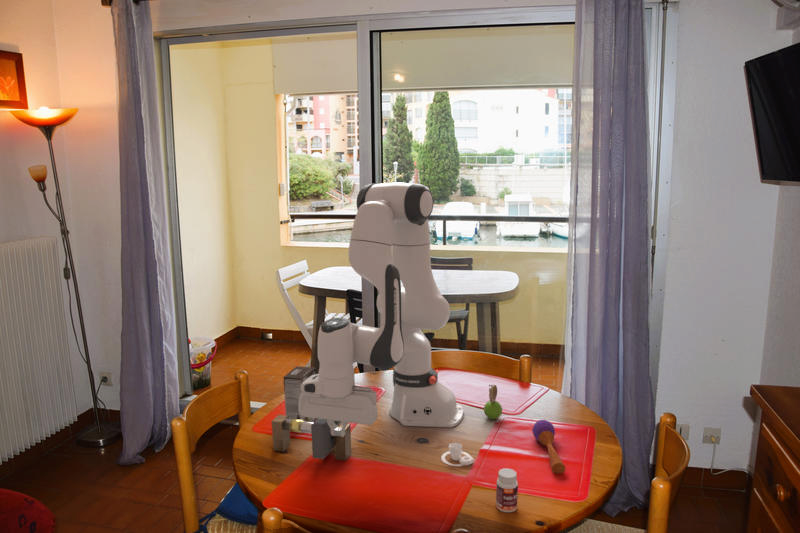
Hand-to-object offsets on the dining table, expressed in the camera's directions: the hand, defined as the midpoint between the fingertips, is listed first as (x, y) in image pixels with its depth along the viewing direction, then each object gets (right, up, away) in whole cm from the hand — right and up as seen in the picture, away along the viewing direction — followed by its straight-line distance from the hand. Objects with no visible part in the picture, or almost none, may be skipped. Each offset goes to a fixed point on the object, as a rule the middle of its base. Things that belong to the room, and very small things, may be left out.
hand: (338, 435), depth 148 cm
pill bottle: (+40, -12, -16) cm, 44 cm away
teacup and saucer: (+29, -9, +2) cm, 31 cm away
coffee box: (-14, -4, +26) cm, 30 cm away
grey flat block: (-3, -5, +7) cm, 9 cm away
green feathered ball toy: (+43, -3, +27) cm, 51 cm away
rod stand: (-8, -7, +9) cm, 14 cm away
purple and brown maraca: (+55, -7, +7) cm, 56 cm away
